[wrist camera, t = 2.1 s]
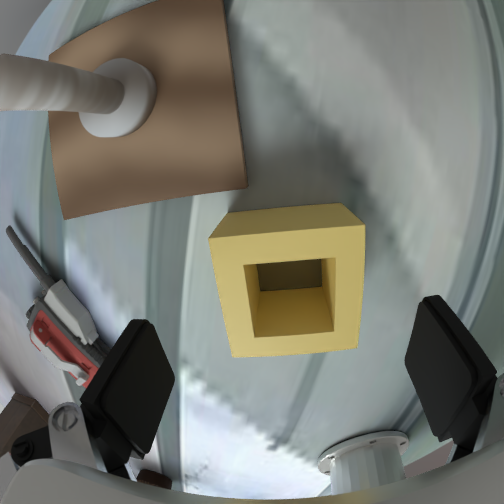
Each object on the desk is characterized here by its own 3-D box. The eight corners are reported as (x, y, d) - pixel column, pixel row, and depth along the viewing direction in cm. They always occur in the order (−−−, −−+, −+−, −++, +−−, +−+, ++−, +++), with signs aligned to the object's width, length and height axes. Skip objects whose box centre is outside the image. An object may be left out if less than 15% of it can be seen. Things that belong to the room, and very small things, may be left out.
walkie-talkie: (155, 367, 23) (19, 215, 19) (139, 401, 19) (-13, 229, 15) (116, 391, 26) (3, 266, 21) (101, 418, 22) (-22, 283, 17)
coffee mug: (132, 471, 37) (118, 507, 28) (139, 463, 34) (123, 505, 25) (184, 492, 38) (174, 528, 29) (198, 486, 35) (188, 528, 26)
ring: (341, 302, 18) (357, 347, 14) (242, 309, 19) (232, 357, 15) (341, 202, 16) (365, 225, 11) (227, 212, 17) (208, 238, 12)
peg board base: (248, 186, 16) (197, 254, 6) (71, 216, 18) (-37, 275, 8) (222, -9, 11) (169, -116, 1) (56, 56, 13) (-47, 42, 3)
